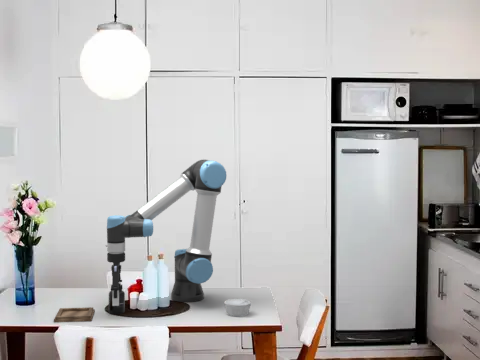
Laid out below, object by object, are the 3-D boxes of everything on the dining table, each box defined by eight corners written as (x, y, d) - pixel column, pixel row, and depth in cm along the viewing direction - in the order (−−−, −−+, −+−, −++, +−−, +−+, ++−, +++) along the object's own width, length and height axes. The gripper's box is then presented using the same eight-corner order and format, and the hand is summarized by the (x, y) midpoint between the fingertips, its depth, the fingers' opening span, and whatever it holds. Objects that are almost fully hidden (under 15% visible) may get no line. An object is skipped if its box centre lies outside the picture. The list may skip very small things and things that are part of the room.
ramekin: (252, 316, 302) (252, 304, 301) (226, 318, 300) (226, 305, 300) (248, 310, 313) (248, 298, 312) (222, 311, 311) (222, 299, 311)
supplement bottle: (121, 315, 304) (121, 287, 303) (106, 314, 305) (105, 286, 304) (127, 311, 310) (126, 283, 309) (112, 310, 312) (111, 282, 311)
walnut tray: (94, 311, 309) (94, 307, 309) (91, 321, 294) (91, 316, 294) (58, 312, 307) (58, 307, 307) (53, 322, 292) (53, 317, 292)
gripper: (109, 247, 317) (109, 294, 319) (105, 257, 293) (105, 309, 294) (126, 247, 318) (126, 294, 320) (123, 257, 294) (124, 308, 295)
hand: (116, 301), depth 307 cm, fingers open, 13 cm apart
